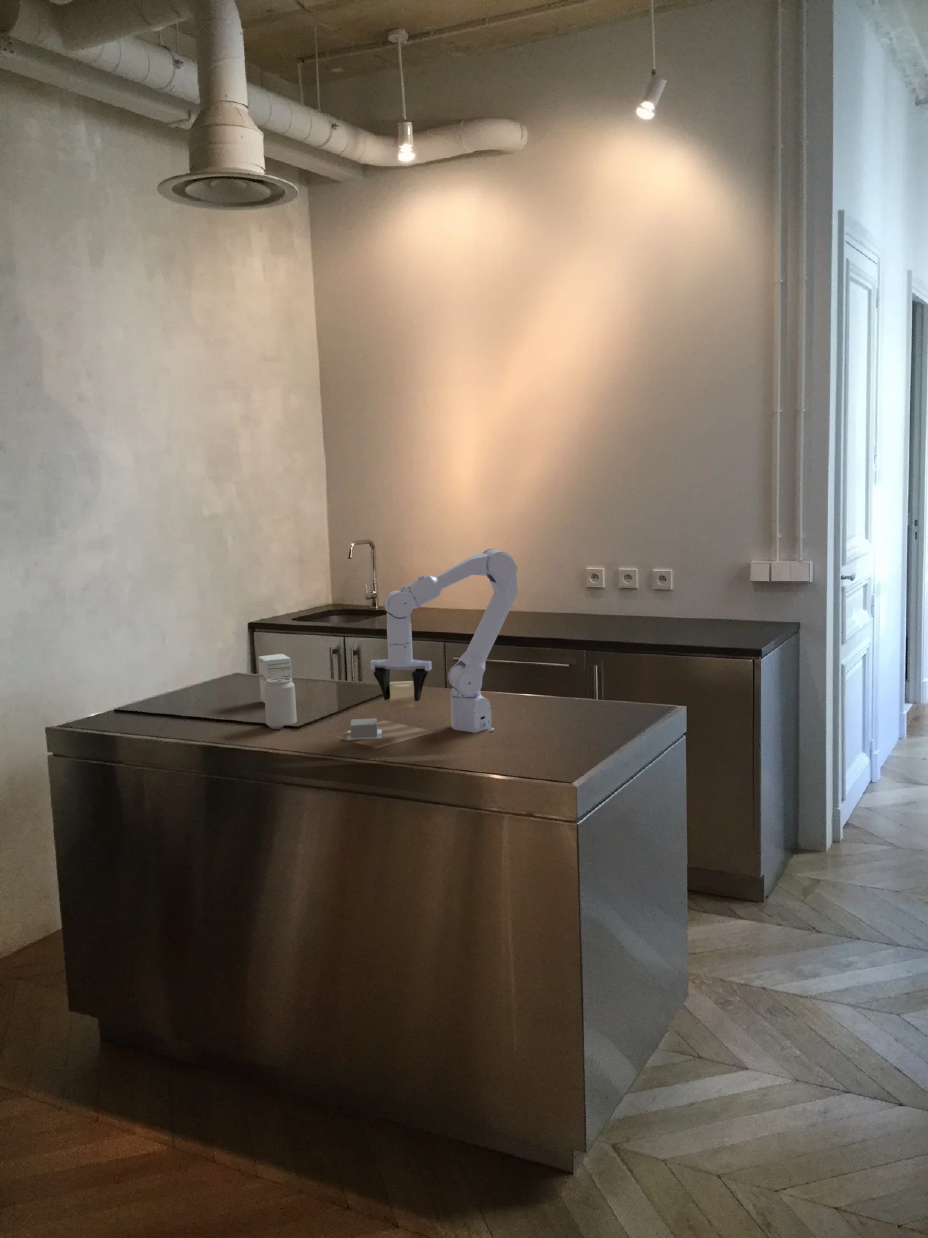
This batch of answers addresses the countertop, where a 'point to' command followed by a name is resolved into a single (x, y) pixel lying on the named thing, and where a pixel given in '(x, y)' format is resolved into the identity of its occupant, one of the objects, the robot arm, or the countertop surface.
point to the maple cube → (402, 694)
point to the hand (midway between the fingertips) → (402, 699)
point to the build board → (385, 734)
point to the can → (280, 702)
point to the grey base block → (363, 728)
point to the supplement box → (273, 669)
